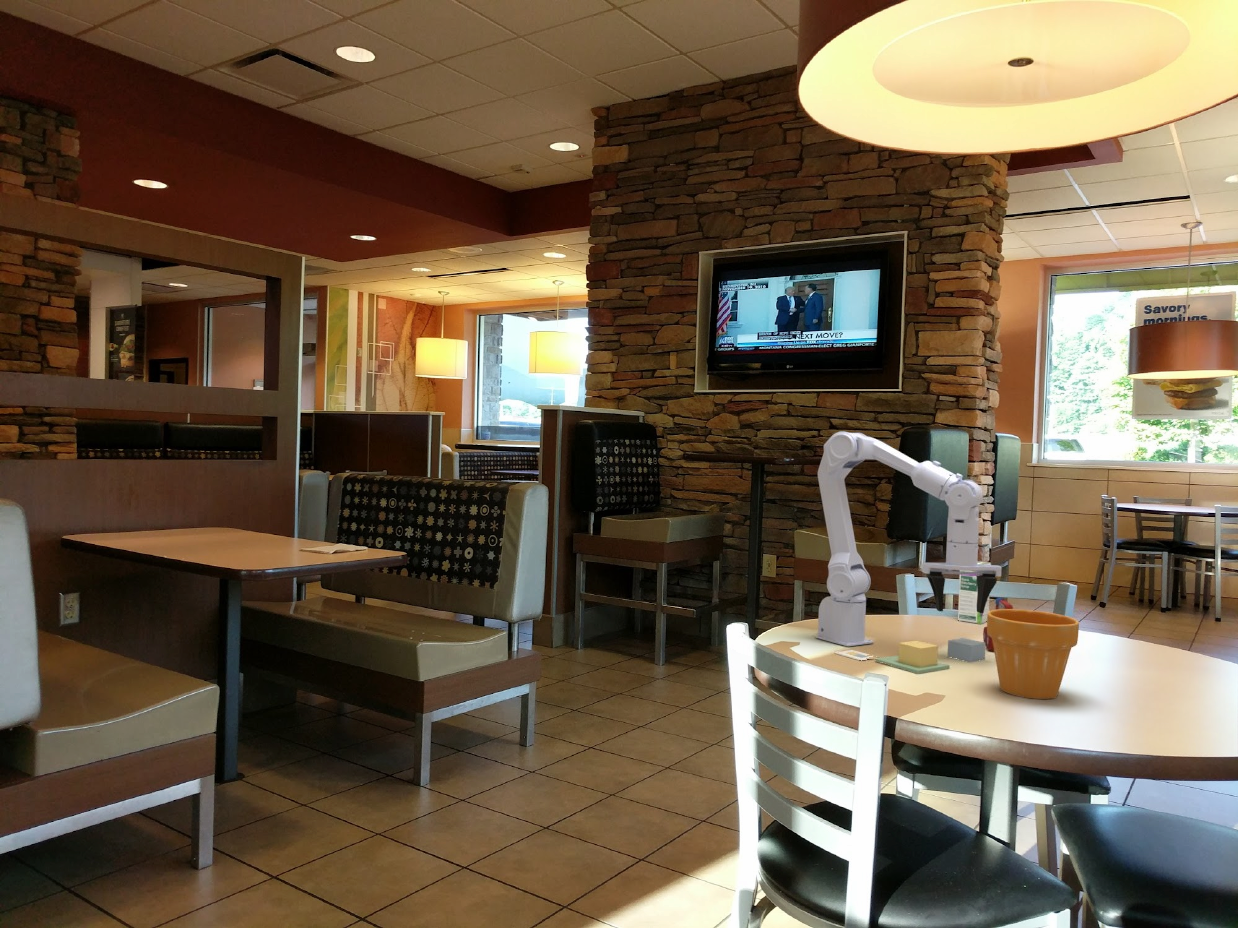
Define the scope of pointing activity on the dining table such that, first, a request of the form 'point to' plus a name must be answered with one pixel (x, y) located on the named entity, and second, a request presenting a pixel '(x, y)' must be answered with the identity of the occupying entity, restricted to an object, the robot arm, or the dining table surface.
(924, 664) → the brick
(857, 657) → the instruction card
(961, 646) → the brick
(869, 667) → the dining table surface
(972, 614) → the syrup box
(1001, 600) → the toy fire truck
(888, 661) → the plate
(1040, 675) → the flower pot
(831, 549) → the robot arm
